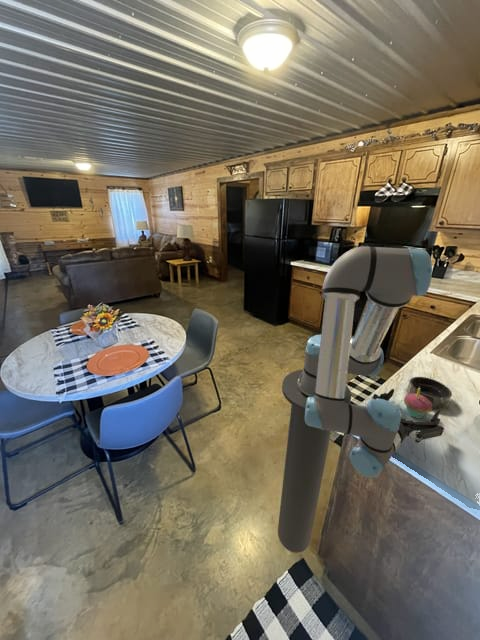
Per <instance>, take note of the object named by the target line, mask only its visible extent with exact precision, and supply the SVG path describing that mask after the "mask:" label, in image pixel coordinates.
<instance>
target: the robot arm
mask: <svg viewBox="0 0 480 640" xmlns="http://www.w3.org/2000/svg"><path fill="white" fill-rule="evenodd" d="M432 276H433V263H432V258H431V256H430V254H429V252H428V251H427V250H425V249H420V248H412V247H407V248H402V247H400V248H399V247H382V246H381V247H380V246H368V245H367V246H366V245H363V246H356V247H354V248H350V249H349V250H348V251H347V250H346V252H344V253H343V254H342V255H341V256H339V257H338V258H337V259H336V260H335V261H334V262H333V264H332V265H331V266H330V268H329V269H328V271H327V273H326V275H325V278H324V280H323V283H322V289H321V297H322V299H323V300H324V307H323V314H322V325H321V333H320V334H316V335H313V336H311V337H310V338H309V339H308V340H307V343H306V347H305V356H304V363H303V369H302V370H303V372H302V373H301V375H300V377H299V379H298V382H297V388H298V390H299V391H300V392H301V393H302V394H303V395H304V396H306V397H308V398H307V401H306V409H305V423H306V424H307V425H308V426H311V427H315V428H319V429H322V430H329V431H331V432H335V433H340V434H344V435H350V436H355V437H359V438H358V442H357V444H356V445H355V446H353V448H352V450H351V451H350V453H349V460H350V463H351V465H352V466H353V468H354V470H356V471H357V472H358V473H359V474H360V475H362V476H363V477H366V478H369V479H373V478H376V477H378V475H379V474H380V473H381V472H383V471H384V469H385V466H386V465H387V464H388V462H389V461H390V459H391V458H392V457H393V455H394V454H395V453H396V452H397V450H398V449H399V447H400V446H401V444H402V443H403V442H404V441H405V439H406V438H407V437H409V436H410V437H412V438H413V439H414V442H415V443H416V444H420V443H421V442H422V441H424V440H428V439H432V438H436V437H442V435H443V433H444V430H445V428H444V426H440V423H441V418H439V416H440V413H441V410H440V409H437V410H436V411H435V412H434V414H433V416H432V417H431V419H430V421H414V420H412V419H406V418H404V417H402V413H401V411H400V409H399V407H398V406H396V404H394V403H392V402H391V401H390V399H391V398H392V397H393V396H394V393H395V388H391V389H390V390H389V391H388V392H387V393H386V392H383V393H380V395H378V394H377V393H374V394H373V396H372V399H370V400H369V401H368V403H367V404H366V406H365V405H359V404H353V403H350V404H349V403H345V394H346V385H348V376H349V375H348V374H350V375H356V376H360V377H361V376H362V377H371V378H373V377H376V376H377V375H379V373H380V372H381V371H382V368H383V364H384V360H385V359H384V358H385V355H384V351H383V349H382V347H381V344H382V342H383V340H384V339H385V337H386V334H387V333H388V331H389V329H390V327H391V326H392V323H393V322H394V319H395V317H396V315H397V313H398V311H399V310H400V308H403V307H406V306H407V305H408V304H409V303H410V301H411V300H412V298H413V297H414V296H415V297H422V296H425V295H426V294H427V293H428V291H429V289H430V286H431V281H432ZM361 292H363V293H364V292H365V295H366V297H367V300H366V303H365V305H364V308H363V311H362V313H361V316H360V319H359V321H358V324H357V327H356V329H355V331H354V335H353V327H354V326H353V324H354V315H355V306H356V303H357V301H359V300H360V297H361Z"/></svg>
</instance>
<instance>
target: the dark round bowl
mask: <svg viewBox="0 0 480 640" xmlns="http://www.w3.org/2000/svg"><path fill="white" fill-rule="evenodd" d="M419 387H420V393H419V394H421V395H423V396H425V397H426V398H427V399H428V400H429V401H430V402H431V403H432V409H437V410H440V409H445V408H447V407H448V405H449V403H450V401H451V399H452V396H453V392H452V390H451V389H450V388H449V387H448V386H446V385H445V384H444V383H442V382H440V381H438V380H436V379H433V378H429V377H426V376H413V377H411V378H410V379H409V382H408V384H407V388H406V393H407V394H411V393H415V394H417V392H418V388H419Z"/></svg>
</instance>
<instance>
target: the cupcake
mask: <svg viewBox="0 0 480 640" xmlns="http://www.w3.org/2000/svg"><path fill="white" fill-rule="evenodd" d="M419 393H420V387H419V388H418V392H417V394H415V393H411V394H408V393H407V394H406V395H405V396H404V398H403V403H404V404H405V406H406V412H407V414H408V415H410V416H411V417H412V418H413V417H414V418H417V419H418V418H419V419H420V418H422V417H423V416H424V415H425V414H428V413H430V412H432V410H433V408H432V403H431V402H430V401H429V400H428V399H427V398H426V397H425V396H423V395H421V394H419Z"/></svg>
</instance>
